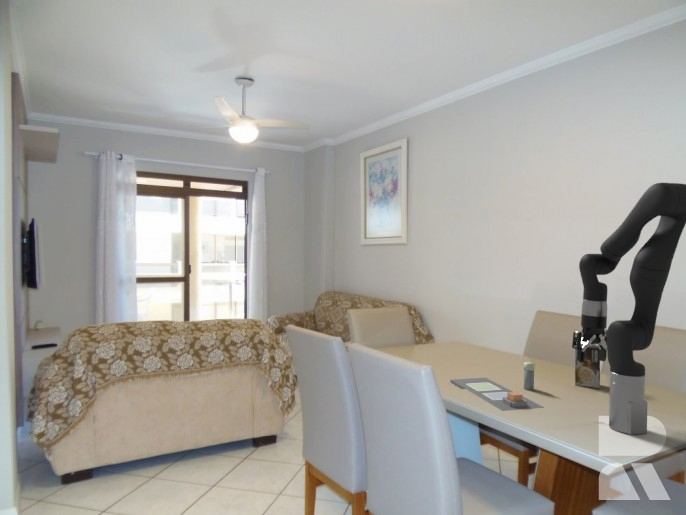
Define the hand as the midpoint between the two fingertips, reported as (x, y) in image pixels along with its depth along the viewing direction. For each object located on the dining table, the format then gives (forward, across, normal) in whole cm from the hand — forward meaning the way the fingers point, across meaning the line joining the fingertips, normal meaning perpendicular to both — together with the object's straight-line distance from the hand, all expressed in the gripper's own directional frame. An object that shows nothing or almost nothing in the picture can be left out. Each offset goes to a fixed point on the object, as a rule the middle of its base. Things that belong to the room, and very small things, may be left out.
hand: (591, 361), depth 158 cm
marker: (+18, -5, +25) cm, 32 cm away
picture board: (+18, -21, +25) cm, 37 cm away
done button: (+16, -21, +11) cm, 29 cm away
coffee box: (+19, +24, +27) cm, 41 cm away
